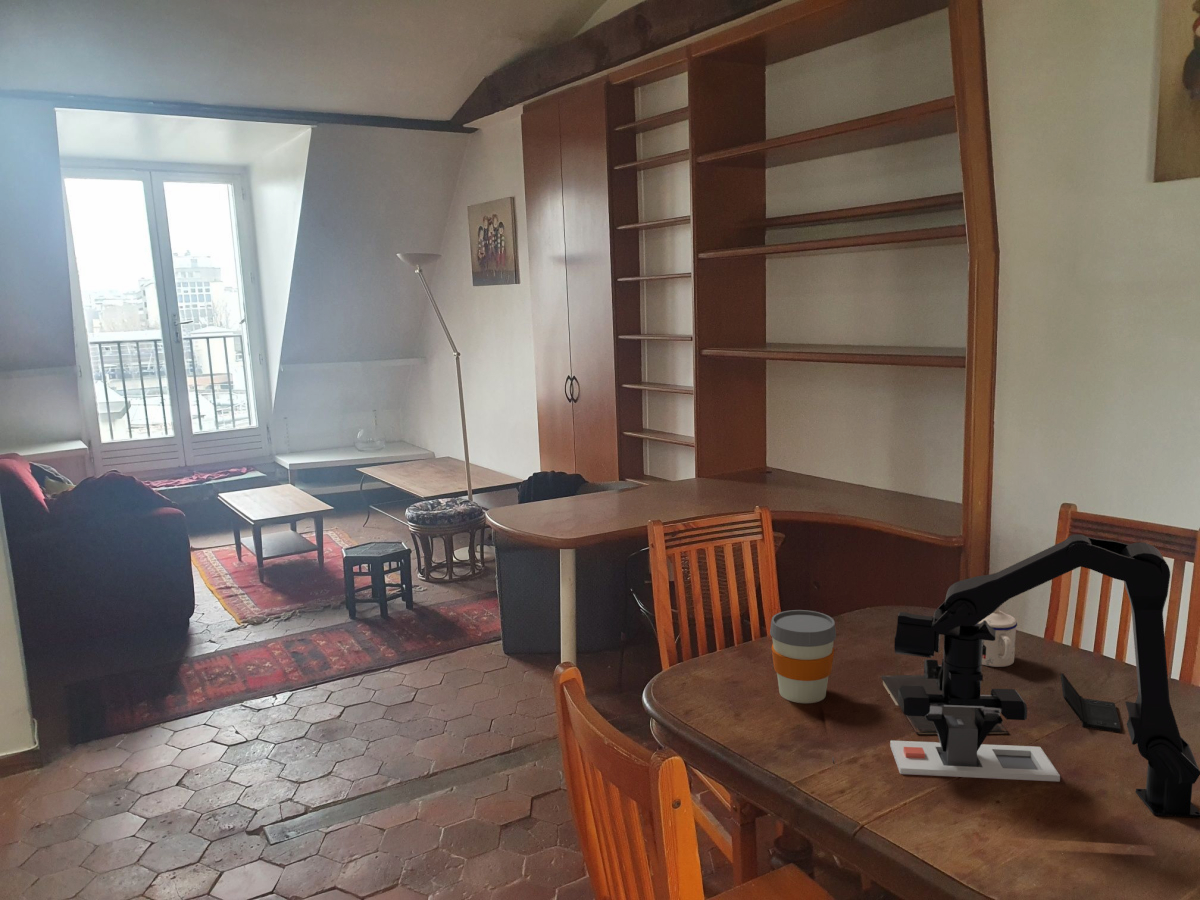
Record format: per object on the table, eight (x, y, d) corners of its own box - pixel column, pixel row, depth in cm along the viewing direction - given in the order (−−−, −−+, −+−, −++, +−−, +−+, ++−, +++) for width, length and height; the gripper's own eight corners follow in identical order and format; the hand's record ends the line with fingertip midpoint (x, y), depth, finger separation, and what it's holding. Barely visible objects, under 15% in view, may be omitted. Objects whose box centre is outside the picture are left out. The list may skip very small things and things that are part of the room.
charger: (976, 769, 139) (978, 728, 138) (947, 768, 140) (949, 727, 139) (968, 755, 144) (970, 715, 143) (941, 754, 144) (942, 714, 143)
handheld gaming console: (1135, 725, 151) (1096, 677, 152) (1097, 747, 153) (1060, 699, 154) (1115, 705, 162) (1080, 660, 164) (1081, 725, 164) (1046, 681, 165)
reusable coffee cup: (802, 674, 180) (802, 605, 177) (849, 696, 169) (850, 623, 167) (756, 690, 173) (756, 618, 170) (802, 713, 162) (803, 638, 160)
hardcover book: (916, 743, 151) (916, 731, 151) (880, 685, 174) (880, 675, 174) (1009, 742, 151) (1010, 730, 150) (961, 685, 173) (962, 674, 173)
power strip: (1059, 787, 136) (1060, 771, 135) (836, 776, 141) (836, 760, 140) (1039, 757, 144) (1040, 742, 144) (830, 748, 150) (830, 733, 149)
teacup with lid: (961, 651, 188) (963, 600, 186) (1002, 650, 188) (1004, 598, 186) (986, 674, 176) (988, 620, 174) (1030, 673, 176) (1033, 618, 174)
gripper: (1008, 643, 145) (1004, 729, 148) (892, 640, 148) (890, 725, 151) (1030, 670, 135) (1025, 763, 137) (905, 667, 137) (903, 758, 140)
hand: (958, 750), depth 142 cm, fingers closed on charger, 4 cm apart
